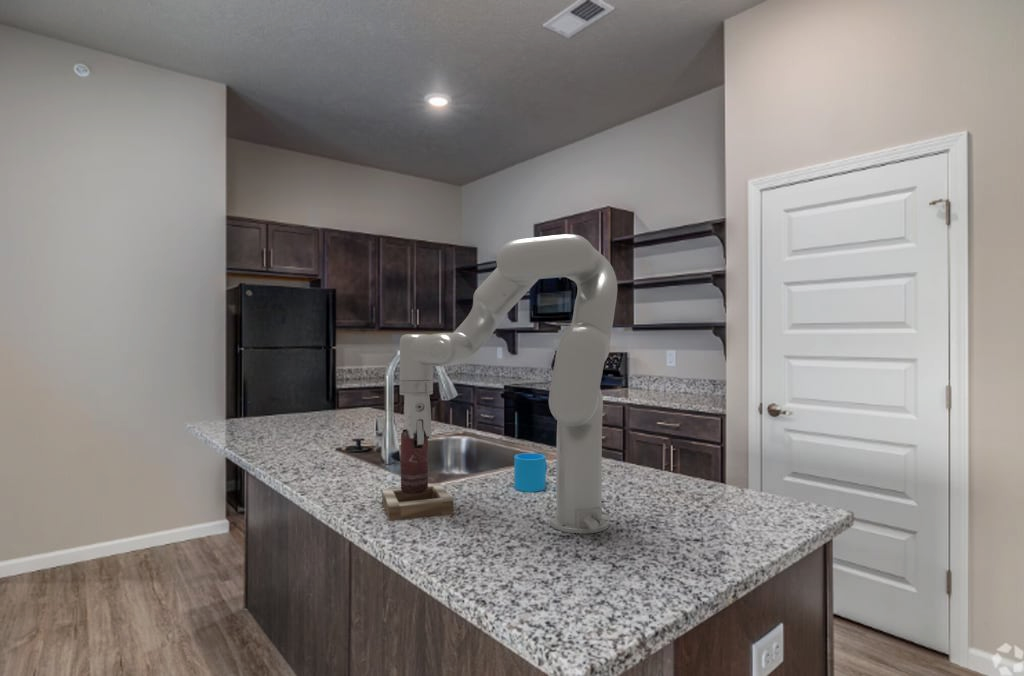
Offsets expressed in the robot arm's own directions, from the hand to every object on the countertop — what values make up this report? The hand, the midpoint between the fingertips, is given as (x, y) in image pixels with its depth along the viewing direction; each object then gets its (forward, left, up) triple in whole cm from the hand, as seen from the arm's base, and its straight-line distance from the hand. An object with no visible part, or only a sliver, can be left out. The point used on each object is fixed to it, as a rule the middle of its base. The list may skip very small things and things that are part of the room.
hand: (416, 467), depth 126 cm
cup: (+1, 0, -6) cm, 6 cm away
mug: (+9, -33, -10) cm, 35 cm away
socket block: (0, 0, -10) cm, 10 cm away
